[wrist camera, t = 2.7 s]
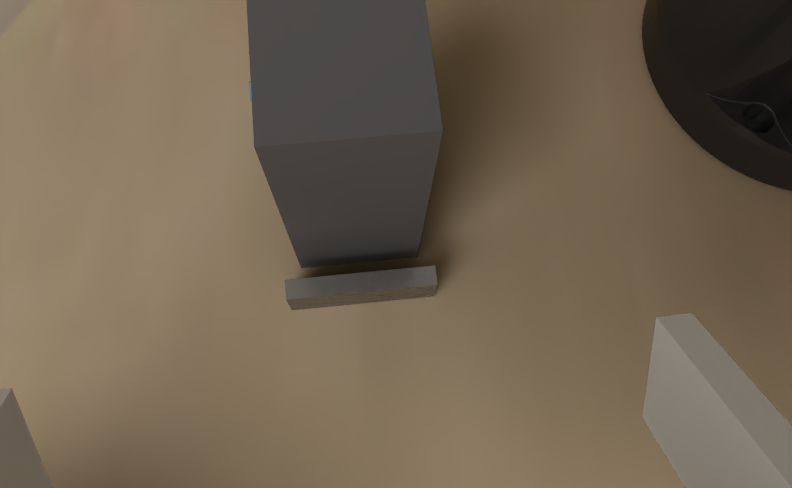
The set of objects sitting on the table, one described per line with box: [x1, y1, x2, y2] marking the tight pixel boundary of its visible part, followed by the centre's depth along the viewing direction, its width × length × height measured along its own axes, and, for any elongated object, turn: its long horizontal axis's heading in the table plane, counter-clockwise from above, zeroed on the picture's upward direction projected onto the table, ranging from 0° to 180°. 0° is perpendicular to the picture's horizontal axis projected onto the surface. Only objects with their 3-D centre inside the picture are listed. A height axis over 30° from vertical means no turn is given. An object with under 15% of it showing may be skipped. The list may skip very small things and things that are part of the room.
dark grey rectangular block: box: [247, 0, 443, 268], centre depth 25 cm, size 5×5×12 cm
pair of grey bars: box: [285, 265, 438, 310], centre depth 29 cm, size 6×9×2 cm
